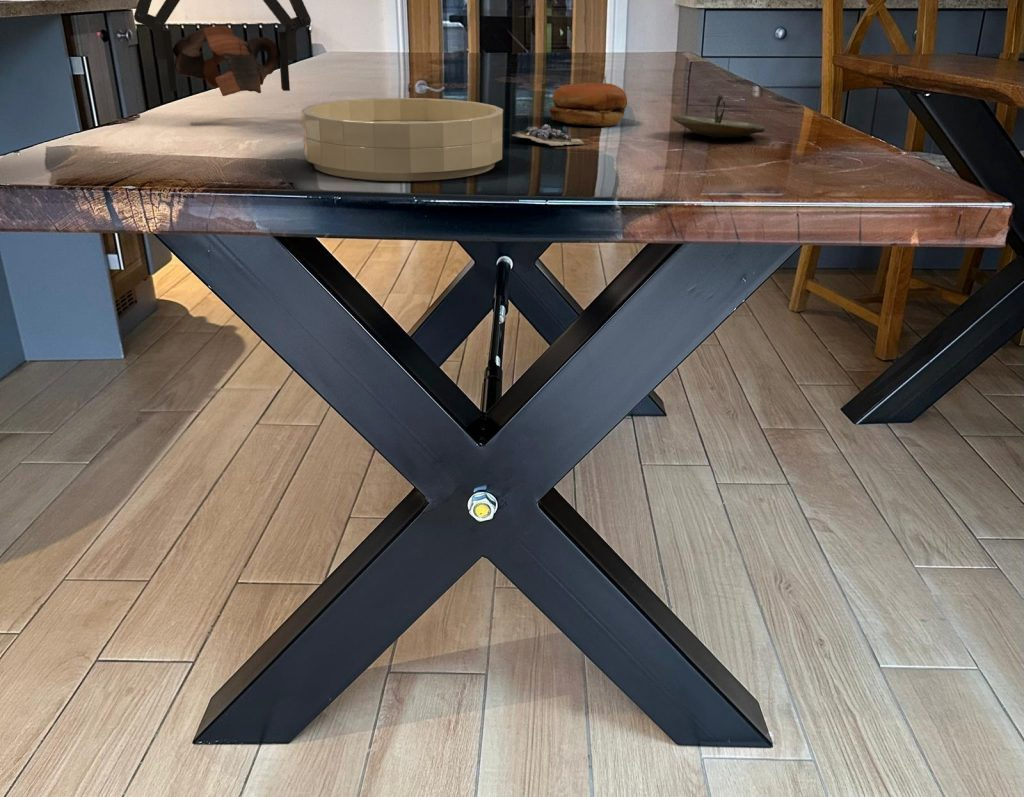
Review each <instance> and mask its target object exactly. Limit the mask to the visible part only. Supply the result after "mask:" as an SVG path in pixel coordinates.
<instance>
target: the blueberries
mask: <svg viewBox="0 0 1024 797" xmlns="http://www.w3.org/2000/svg"><path fill="white" fill-rule="evenodd" d="M511 137H517V138H522V139H530V140H531V141H534V142H536V143H539V144H546V145H549V146H550V147H551V146H552V147H553V146H564V145H567V146H569V145H585V141H583V140H581V139H580V138H572V136H571V135H570V134H568V133H565V132H564V133H563V131H562V130H561V129H555V128H551V126H550V124H544V125H542V127H541V128H539V127H536V126H527V127H526V128H525V130H524V131H521V130H517V131H515V132H514V134H511Z"/></svg>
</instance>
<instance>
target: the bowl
mask: <svg viewBox="0 0 1024 797" xmlns="http://www.w3.org/2000/svg"><path fill="white" fill-rule="evenodd" d="M300 112H301V125H302V136H303V137H302V138H303V139H302V140H303V151H304V152H303V153H304V155H303V156H304V157H305V159H306V161H307V162H309V163H311V164H313V167H314V168H315V169H316V170H317V171H319V172H322V173H323V174H327V175H330V176H334V177H340V178H346V179H355V180H361V181H362V180H363V181H364V180H365V181H379V182H428V181H440V180H452V179H460V178H461V179H462V178H466V177H472V176H477V175H480V174H485V173H487V172H489V171H491V170H493V169H494V168H495V166H496V163H497V162H500V161H501V160H503V155H504V109H503V108H501V107H499V106H496V105H492V104H490V103H489V104H488V103H483V102H477V101H468V100H460V99H444V98H427V97H426V98H425V97H424V98H423V97H422V98H421V97H420V98H418V97H385V98H384V97H383V98H382V97H377V98H376V97H375V98H359V99H358V98H357V99H342V100H333V101H325V102H320V103H315V104H311V105H307V106H305V107H304V108H303V109H301V111H300Z"/></svg>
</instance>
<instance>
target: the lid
mask: <svg viewBox="0 0 1024 797" xmlns="http://www.w3.org/2000/svg"><path fill="white" fill-rule="evenodd" d="M721 100H722V104H723V109H722V111H721V113H720V114H719V109H718V108H719V106H720V105H721V104H720V103H721ZM715 104H716V105H715V113H714V114H715V115H714V118H710V117H703V116H696V115H684V114H673V115H672V116H671V118H672V119H673V121H674V122H676V123H678V124H679V125H681V126H683V127H685V128H686V129H688V130H689V131H691V132H692V133H694V134H696V135H701V136H708V137H710V138H712V139H717V138H727V139H731V138H741V137H747V136H750V135H754V134H758V133H764V132H765V130H766V127H765V126H764V125H762V124H759V123H755V122H748V121H739V120H732V119H723V116H724V113H725V106H726V100H725V96H724V95H721V94H720V95H718V96H717V98H716V103H715Z"/></svg>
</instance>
